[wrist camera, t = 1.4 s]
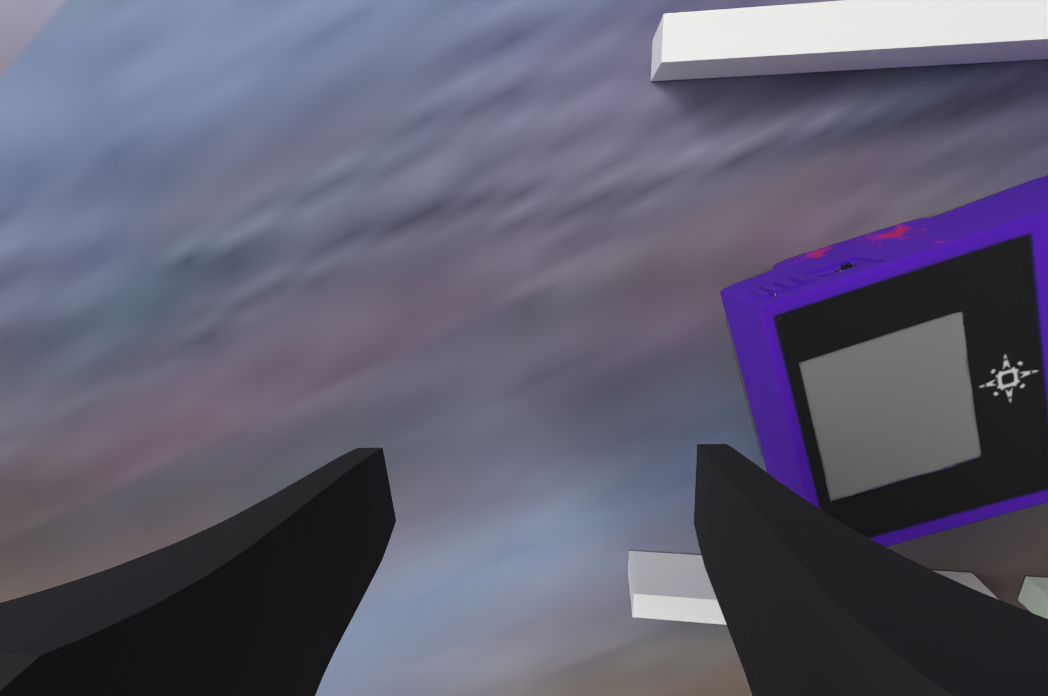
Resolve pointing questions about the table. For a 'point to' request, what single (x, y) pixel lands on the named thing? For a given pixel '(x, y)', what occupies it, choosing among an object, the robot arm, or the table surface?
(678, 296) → the table surface
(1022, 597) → the sage corral
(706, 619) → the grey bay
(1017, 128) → the table surface
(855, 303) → the handheld gaming console
